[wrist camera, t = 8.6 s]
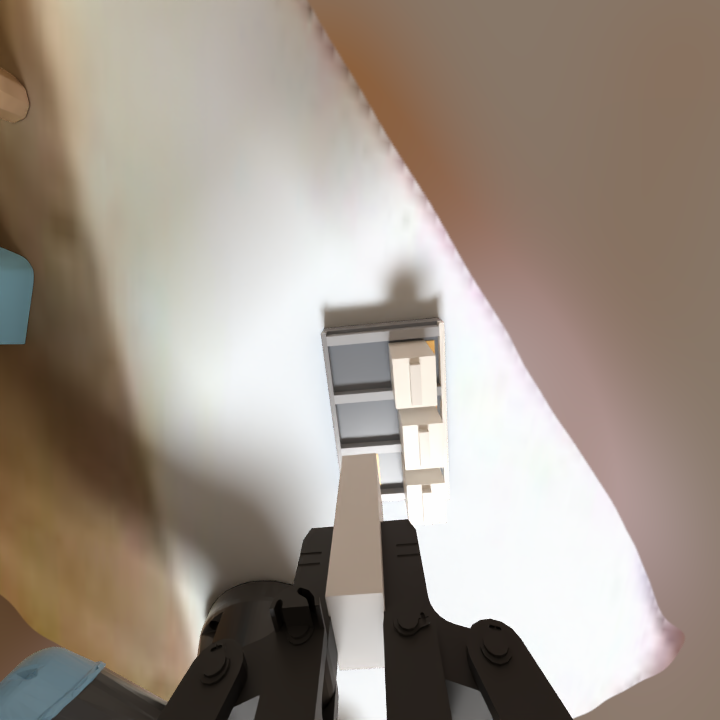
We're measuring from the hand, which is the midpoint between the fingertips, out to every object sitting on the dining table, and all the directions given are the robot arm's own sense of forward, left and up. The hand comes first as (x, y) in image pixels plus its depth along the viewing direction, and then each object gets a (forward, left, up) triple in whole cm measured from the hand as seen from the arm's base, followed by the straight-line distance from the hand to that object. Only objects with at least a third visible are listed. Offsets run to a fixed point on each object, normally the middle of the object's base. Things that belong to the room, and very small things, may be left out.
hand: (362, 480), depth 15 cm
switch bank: (+2, -4, -16) cm, 17 cm away
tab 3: (+4, -10, -14) cm, 18 cm away
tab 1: (+4, +1, -14) cm, 15 cm away
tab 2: (+4, -4, -14) cm, 16 cm away
